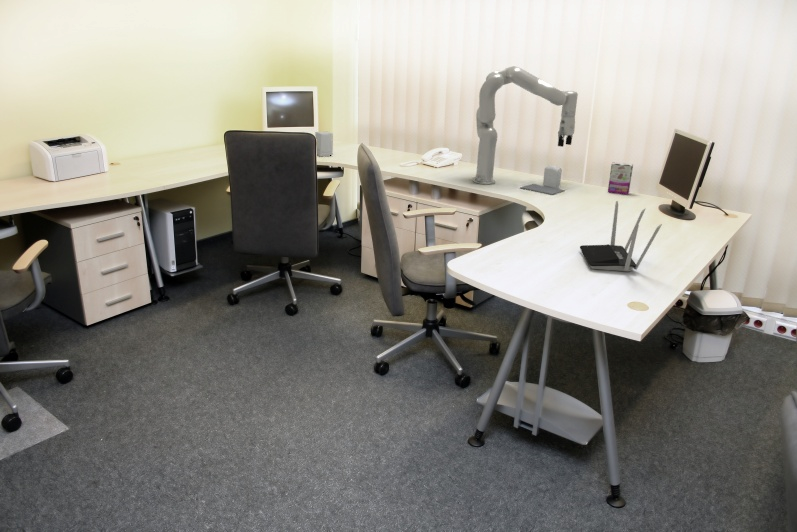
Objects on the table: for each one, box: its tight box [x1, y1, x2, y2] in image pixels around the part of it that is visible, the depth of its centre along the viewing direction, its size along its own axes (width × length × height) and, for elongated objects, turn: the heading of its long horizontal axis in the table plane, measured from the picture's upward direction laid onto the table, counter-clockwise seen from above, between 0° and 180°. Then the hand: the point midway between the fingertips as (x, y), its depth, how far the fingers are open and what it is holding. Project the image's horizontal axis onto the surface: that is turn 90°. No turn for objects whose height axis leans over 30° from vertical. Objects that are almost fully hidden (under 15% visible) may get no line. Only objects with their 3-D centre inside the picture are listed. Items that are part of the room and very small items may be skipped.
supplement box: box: [314, 131, 334, 157], centre depth 428 cm, size 9×9×15 cm
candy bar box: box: [607, 161, 634, 196], centre depth 360 cm, size 11×5×16 cm, turn 68°
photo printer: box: [542, 164, 563, 189], centre depth 368 cm, size 10×4×12 cm, turn 39°
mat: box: [519, 183, 566, 196], centre depth 363 cm, size 14×20×1 cm
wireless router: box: [579, 200, 663, 272], centre depth 248 cm, size 34×23×20 cm
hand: (564, 145), depth 369 cm, fingers open, 8 cm apart
